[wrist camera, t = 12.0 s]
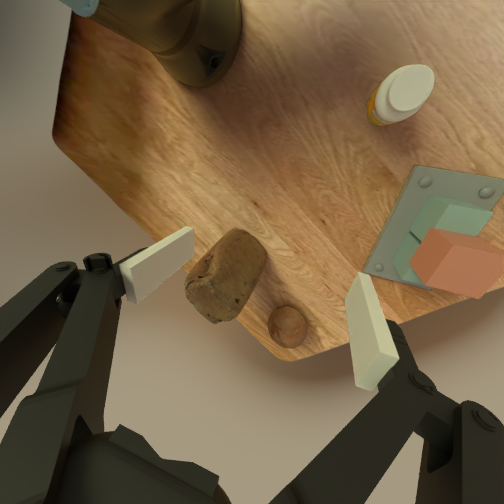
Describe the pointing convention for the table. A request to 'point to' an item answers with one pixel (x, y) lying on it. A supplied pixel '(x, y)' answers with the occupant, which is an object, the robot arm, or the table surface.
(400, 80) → the supplement bottle
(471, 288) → the brick block
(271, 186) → the table surface
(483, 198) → the build plate
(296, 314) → the onion
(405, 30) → the table surface
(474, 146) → the table surface
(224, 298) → the rough sandstone chunk
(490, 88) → the table surface
